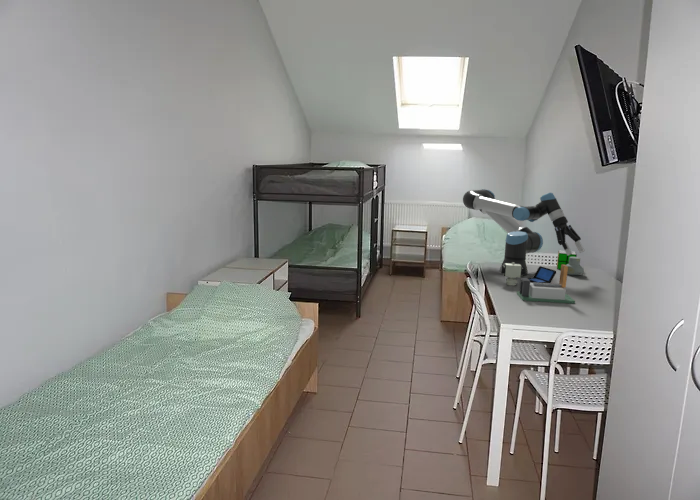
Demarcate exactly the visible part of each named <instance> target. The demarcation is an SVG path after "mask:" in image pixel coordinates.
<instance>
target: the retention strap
mask: <svg viewBox="0 0 700 500" xmlns="http://www.w3.org/2000/svg"><path fill="white" fill-rule="evenodd" d="M567 271H568V266H566V265H563V264H561V269H560V272H559V273H560V274H559V282H558V283H555V282H554V283H553V282H551V283H537V282H533V285H535V286H554V287H563V288H565V289H566V288H567V287H566V286H567V279H568V274H567Z"/></svg>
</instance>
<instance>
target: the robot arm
mask: <svg viewBox="0 0 700 500" xmlns="http://www.w3.org/2000/svg"><path fill="white" fill-rule="evenodd" d="M539 199H540V202H538V203H537V204H535V205H530V206H523V205H519V204H515V203H511V202H505V201H503V200H498V199H496V195H495V193H493V192H492V191H491V190H489V189H486V188H484V189H482V188H481V189H470V190H468V191H466V192H465V193H464V194H463V197H462V203H463V205H464V206H465V207H466V208H467V209H471V210H475V211H480V212H481V214H482V215H483V214H484V215H485V214H486V215H487V216H488V217H490V218H491V219H492V220H493V221H494V222H495V223H497V224H498V226H500V227H501V228H502V230H504V231H505V232H506V233H507V234H506V237H505V245H504V246H505V247H504V258H503V261H502V263H501V265H504V263H510V264H512V262H514V264H522V266H523V267H525V274H524V275H522V277H524V276H525V277H526V276H528V266H527V261H526V259H527V254H531V253H532V254H535V253H536V252H539V251H540V250H541V249H542V247H543V244H544V239H543V237H542V234H541V233H539V232H537V231H532V230H531V229H530V228H529V227H527V226H523V225H522V224H520V223H519V222H524V221H528V222H530V223H534V222H536V221H538V220H540V219H541V218H542V217H545V216H546V215H548V217H549V219H550V221H551V223H552V225H553V227H554V231H555V235H556V240H557V243H558V244H559V246H562V248H563V251H565V252H566V254H567V256H568V255H570V254H572V252H573V251H572V250H571V248H570V246H569V244H568V242H566V236H568V237H569V238H570V239H572V240H573V242H574V245H575V246H576V249H577V251H578V252H579V253H580V254H581V253H583V252H585V249H584V246H583V245H582V243H581V240H582V239H581V237H580V236H579V234H578V233H577V232H576V230H575V229H574V228H573V227H572V225H571V224H569V225H568V222H569V221H568V219H567V216H565V213H564V210H563V209H562V208H561V206H560V203H559V202H558V200H557V198H556V196H555V194H554V193H553V192H546V193H545V194H543V195H541V197H540V198H539ZM518 221H519V222H518ZM571 251H572V252H571ZM500 270H501V266H500V268H499V271H500Z"/></svg>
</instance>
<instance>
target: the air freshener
mask: <svg viewBox="0 0 700 500" xmlns="http://www.w3.org/2000/svg"><path fill="white" fill-rule="evenodd" d="M580 264H581V258H580V257H578V256H577V257H569V264H567V265H566V266H568V271H567V276H575V277H576V276H581V275H582V274H583V273H584V271H585V270H584V267H583V266H582V265H580Z"/></svg>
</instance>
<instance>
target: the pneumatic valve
mask: <svg viewBox="0 0 700 500" xmlns="http://www.w3.org/2000/svg"><path fill="white" fill-rule="evenodd" d="M500 267H501V270H500V269H499V273H500V274H501V275H502V276H503V277H504V278H505V277H506V279H505V283H506V285H507V286H510V287H511V286H512V287H513V286H516V285H517V284H518V280H517V279H516V278H519V279H521V278H523V276H522V275H524V274H525V267H523V266H522V264H514V262H512V264H510V263H504V265H502V264H501V265H500Z"/></svg>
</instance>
